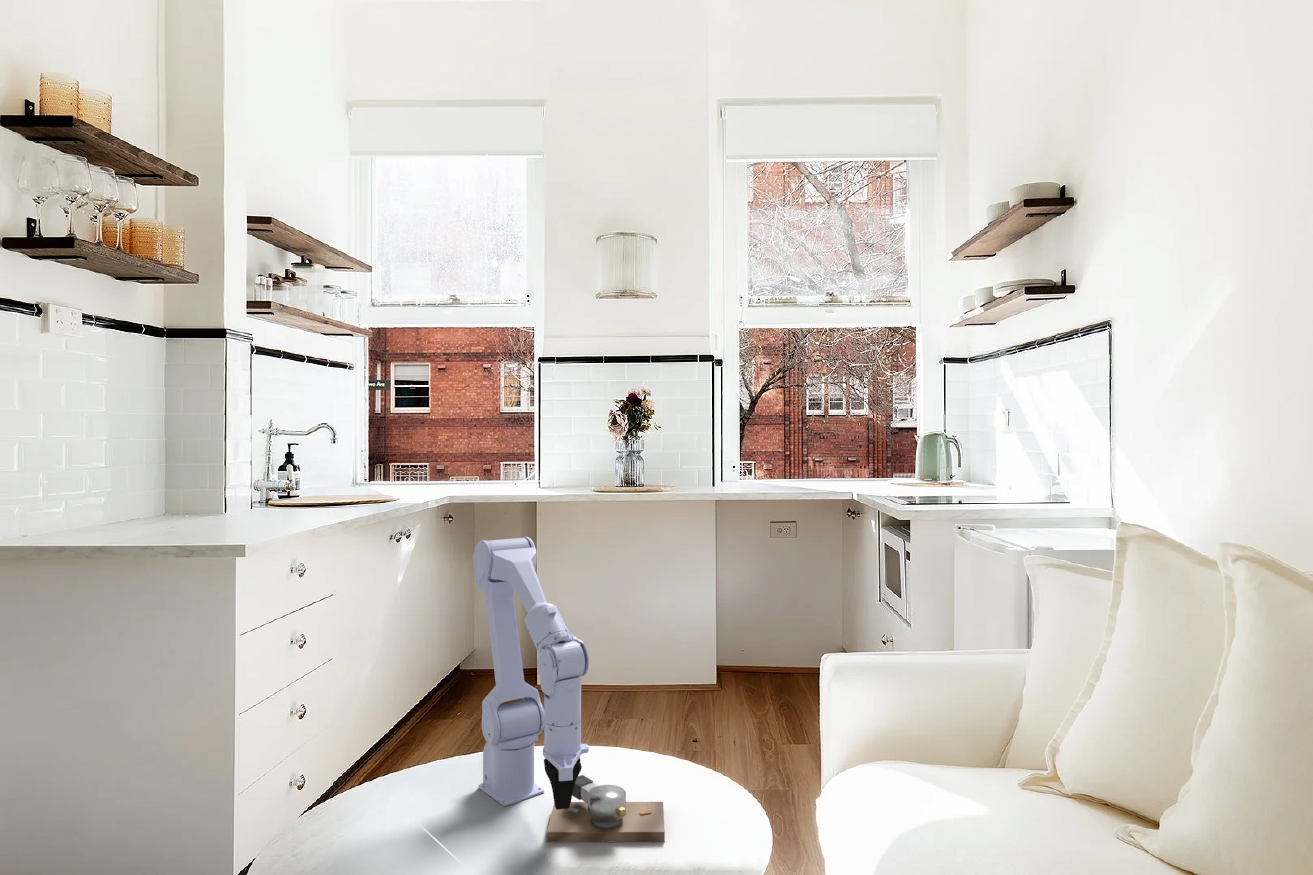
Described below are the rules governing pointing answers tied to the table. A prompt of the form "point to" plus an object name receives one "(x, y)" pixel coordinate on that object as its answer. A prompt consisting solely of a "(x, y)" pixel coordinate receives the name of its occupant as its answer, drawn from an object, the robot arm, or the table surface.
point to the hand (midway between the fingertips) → (562, 806)
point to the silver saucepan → (601, 799)
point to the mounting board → (608, 824)
